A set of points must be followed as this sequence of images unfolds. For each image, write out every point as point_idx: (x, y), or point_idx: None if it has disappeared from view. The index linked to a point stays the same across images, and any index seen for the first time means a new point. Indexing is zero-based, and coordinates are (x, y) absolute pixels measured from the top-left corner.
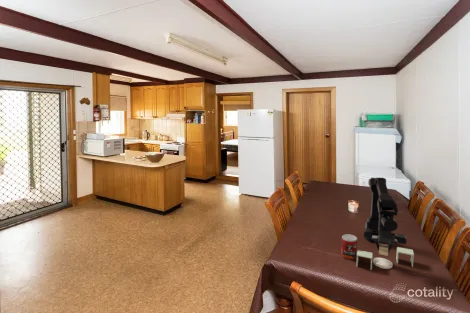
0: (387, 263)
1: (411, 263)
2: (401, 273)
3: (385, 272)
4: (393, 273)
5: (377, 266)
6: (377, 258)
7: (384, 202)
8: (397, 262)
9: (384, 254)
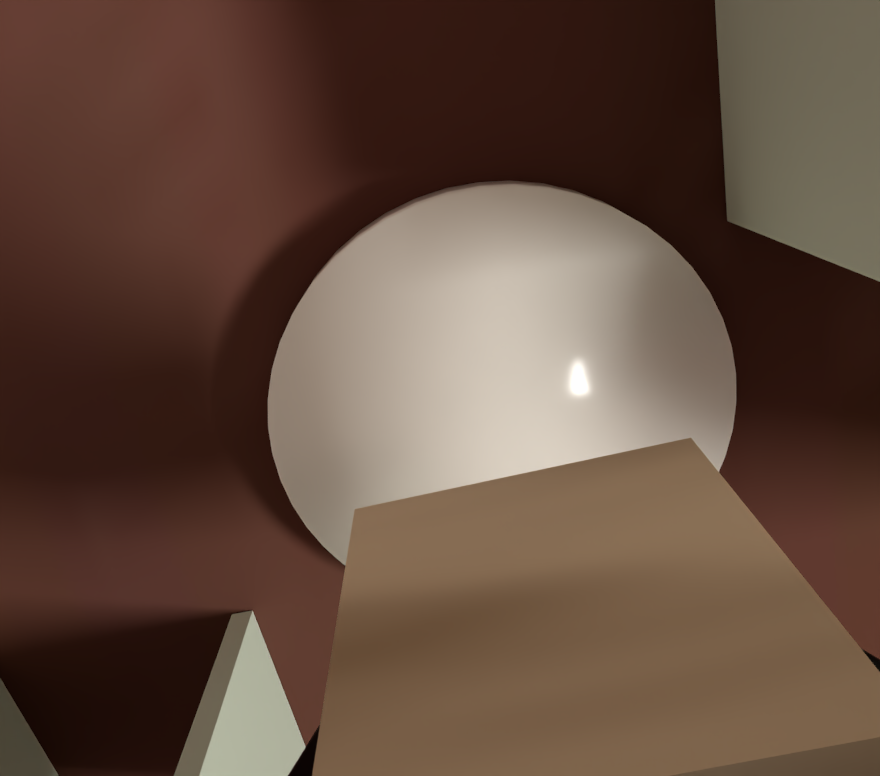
0: (389, 436)
1: (7, 736)
2: (18, 241)
3: (344, 10)
4: (163, 104)
5: (584, 195)
6: None
7: None
8: (234, 628)
9: (482, 502)
